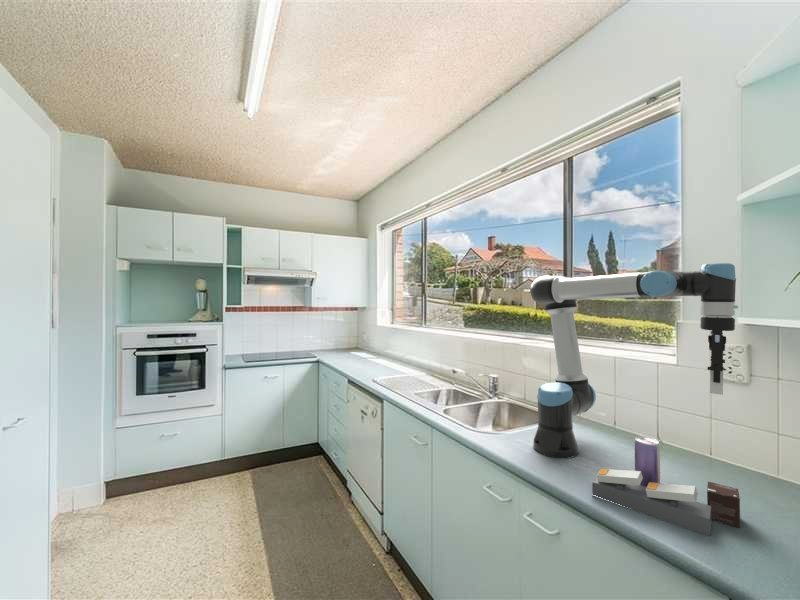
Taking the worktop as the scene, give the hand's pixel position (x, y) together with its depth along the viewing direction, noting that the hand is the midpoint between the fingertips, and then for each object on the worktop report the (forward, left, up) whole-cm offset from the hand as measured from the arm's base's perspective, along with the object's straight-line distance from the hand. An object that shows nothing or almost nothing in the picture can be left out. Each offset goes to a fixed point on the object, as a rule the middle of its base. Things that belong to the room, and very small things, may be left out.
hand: (716, 388), depth 105 cm
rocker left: (-19, -27, -23) cm, 40 cm away
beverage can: (-14, -18, -29) cm, 37 cm away
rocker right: (-8, -27, -23) cm, 36 cm away
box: (+2, -19, -29) cm, 35 cm away
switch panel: (-13, -27, -29) cm, 41 cm away
